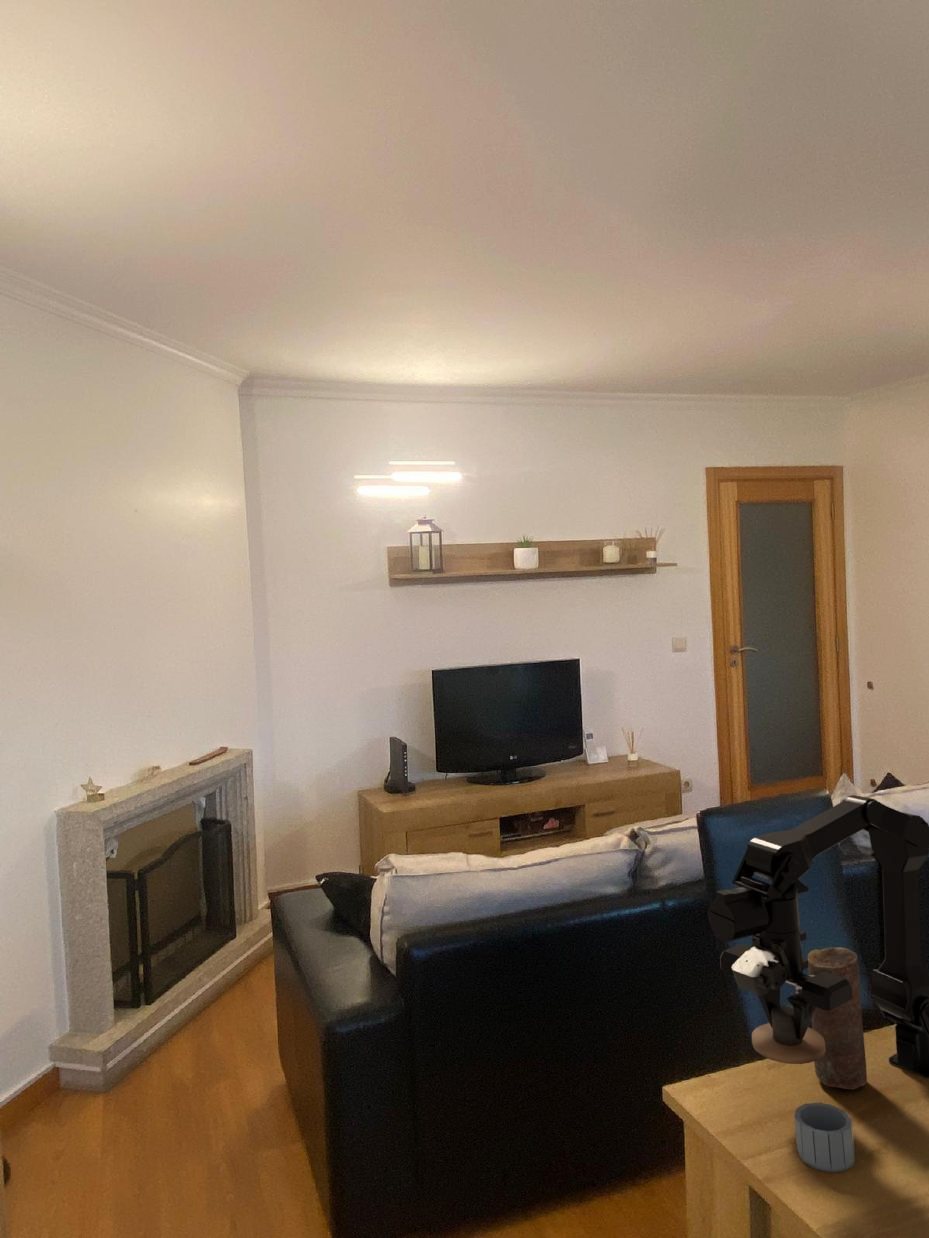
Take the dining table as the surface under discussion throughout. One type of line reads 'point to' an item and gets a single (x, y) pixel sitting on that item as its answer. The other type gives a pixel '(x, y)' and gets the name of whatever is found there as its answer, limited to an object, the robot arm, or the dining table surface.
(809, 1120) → the pot
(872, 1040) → the dining table surface
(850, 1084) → the candle
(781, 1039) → the lid
